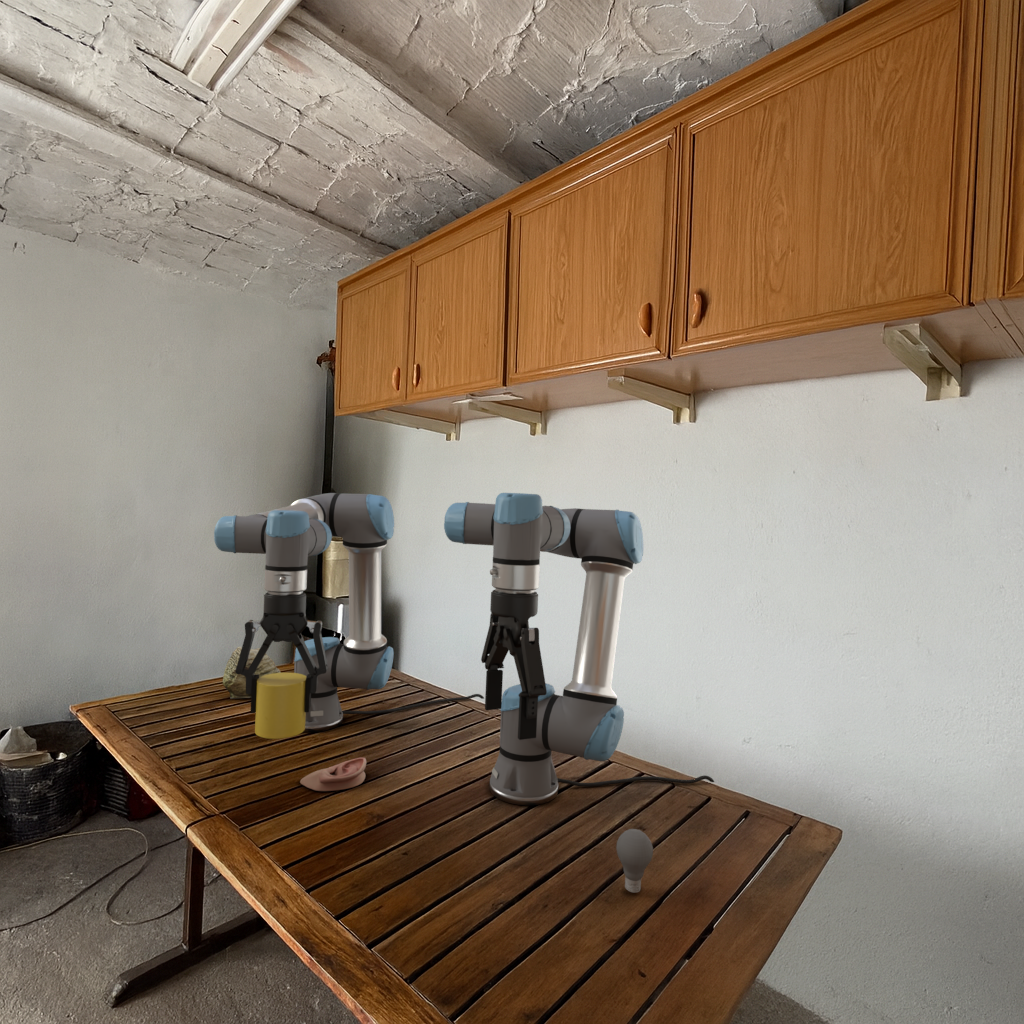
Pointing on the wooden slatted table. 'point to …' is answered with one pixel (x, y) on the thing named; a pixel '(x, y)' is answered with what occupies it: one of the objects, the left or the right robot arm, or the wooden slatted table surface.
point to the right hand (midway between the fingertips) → (508, 722)
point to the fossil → (238, 681)
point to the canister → (280, 705)
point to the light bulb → (634, 857)
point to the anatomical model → (337, 776)
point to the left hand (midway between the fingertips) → (281, 710)
